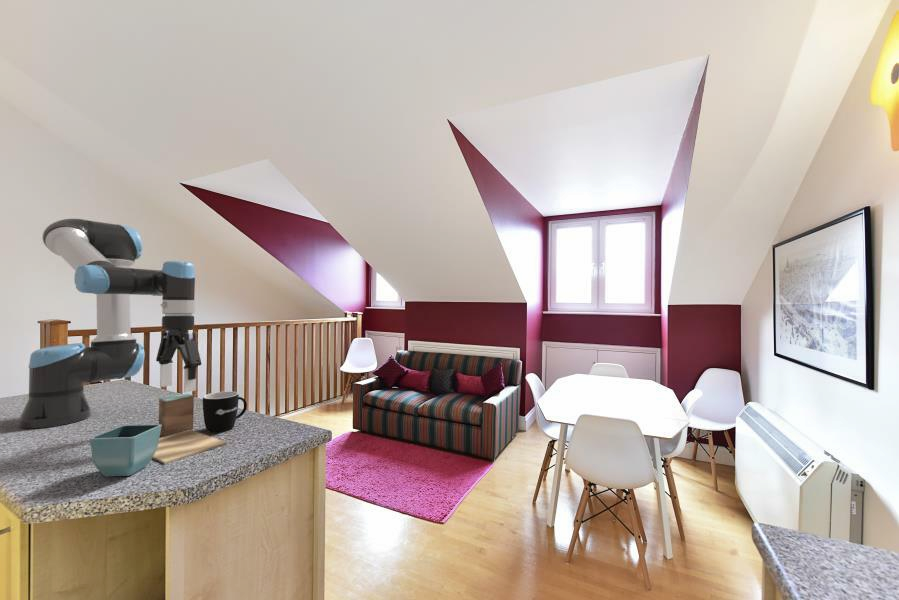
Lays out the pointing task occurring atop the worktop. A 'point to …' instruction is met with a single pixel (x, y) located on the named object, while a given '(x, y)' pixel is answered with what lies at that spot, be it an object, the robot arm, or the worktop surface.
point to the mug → (221, 410)
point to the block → (176, 414)
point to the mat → (184, 446)
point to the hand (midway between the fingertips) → (177, 388)
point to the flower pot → (125, 449)
